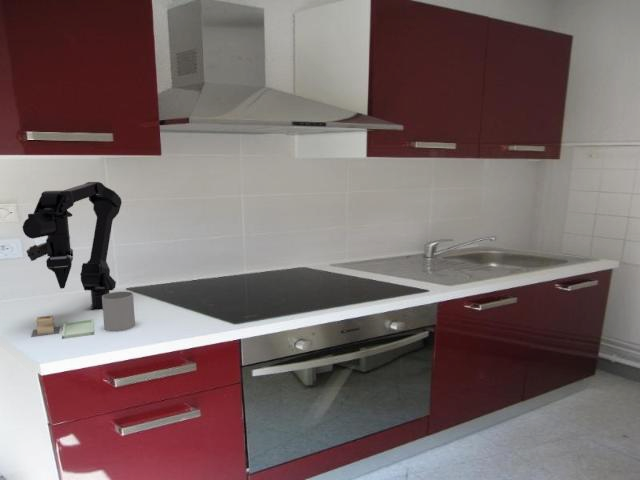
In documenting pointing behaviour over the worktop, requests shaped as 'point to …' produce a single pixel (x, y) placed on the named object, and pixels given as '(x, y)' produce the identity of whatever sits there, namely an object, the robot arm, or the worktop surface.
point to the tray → (78, 328)
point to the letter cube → (45, 324)
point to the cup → (118, 311)
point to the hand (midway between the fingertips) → (63, 284)
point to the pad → (56, 331)
